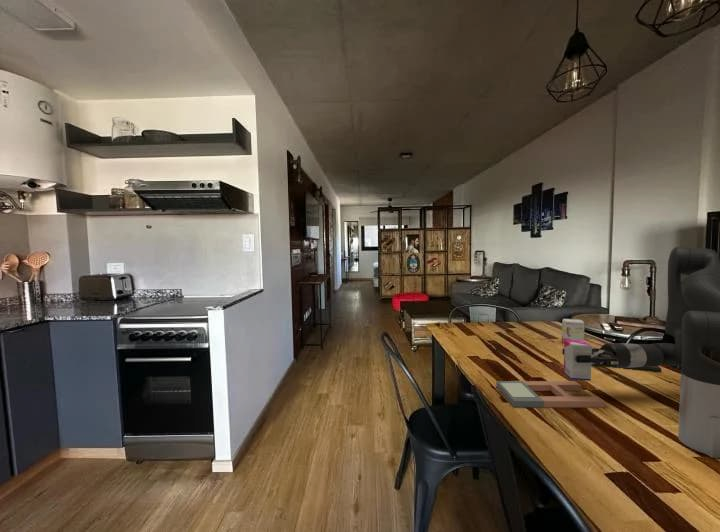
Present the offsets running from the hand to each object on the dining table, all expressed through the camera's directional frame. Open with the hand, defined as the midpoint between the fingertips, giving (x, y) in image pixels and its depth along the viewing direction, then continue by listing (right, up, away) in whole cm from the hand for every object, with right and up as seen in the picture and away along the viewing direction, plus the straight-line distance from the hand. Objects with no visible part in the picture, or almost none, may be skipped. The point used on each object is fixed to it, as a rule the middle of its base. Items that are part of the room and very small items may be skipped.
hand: (569, 355), depth 101 cm
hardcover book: (+39, -12, +29) cm, 50 cm away
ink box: (+37, -10, +53) cm, 66 cm away
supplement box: (+2, -7, 0) cm, 8 cm away
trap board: (-7, -14, +1) cm, 15 cm away
